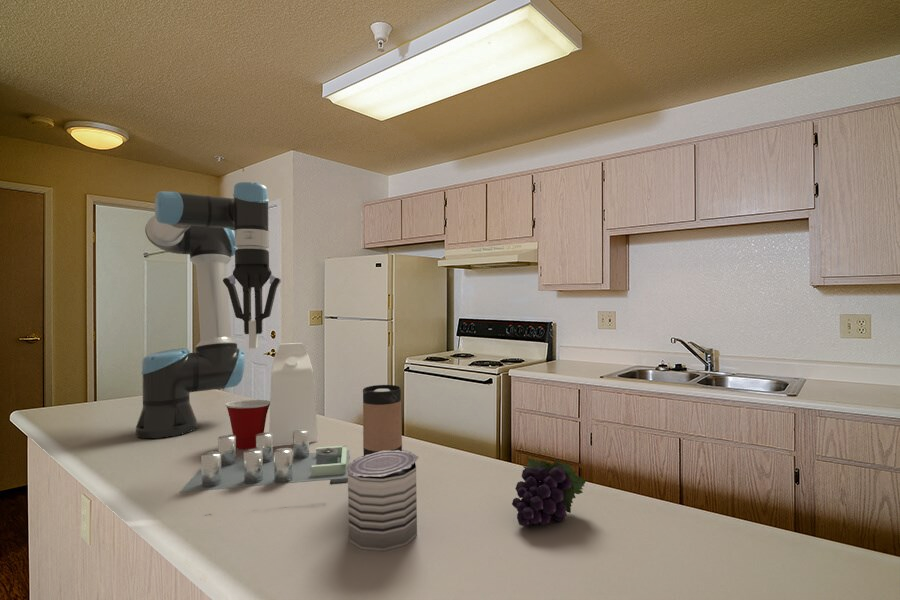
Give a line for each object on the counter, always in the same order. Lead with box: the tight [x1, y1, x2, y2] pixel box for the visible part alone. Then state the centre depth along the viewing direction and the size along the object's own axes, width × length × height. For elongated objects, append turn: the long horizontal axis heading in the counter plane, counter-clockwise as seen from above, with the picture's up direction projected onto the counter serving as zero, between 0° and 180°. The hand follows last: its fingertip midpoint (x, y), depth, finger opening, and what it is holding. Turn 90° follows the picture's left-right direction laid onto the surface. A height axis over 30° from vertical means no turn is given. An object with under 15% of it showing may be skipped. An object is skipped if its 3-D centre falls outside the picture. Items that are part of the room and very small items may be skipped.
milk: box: [268, 342, 319, 448], centre depth 127 cm, size 12×12×26 cm
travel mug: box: [362, 384, 403, 456], centre depth 95 cm, size 8×8×20 cm
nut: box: [315, 448, 338, 465], centre depth 106 cm, size 5×4×3 cm
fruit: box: [511, 457, 587, 527], centre depth 81 cm, size 10×10×15 cm
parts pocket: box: [311, 445, 348, 477], centre depth 107 cm, size 13×7×2 cm, turn 11°
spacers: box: [200, 429, 310, 487], centre depth 104 cm, size 18×20×6 cm
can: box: [345, 449, 420, 552], centre depth 77 cm, size 11×11×12 cm
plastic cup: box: [224, 399, 270, 451], centre depth 121 cm, size 11×11×12 cm
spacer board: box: [179, 449, 350, 493], centre depth 104 cm, size 18×32×1 cm, turn 101°
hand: (253, 347), depth 114 cm, fingers closed
